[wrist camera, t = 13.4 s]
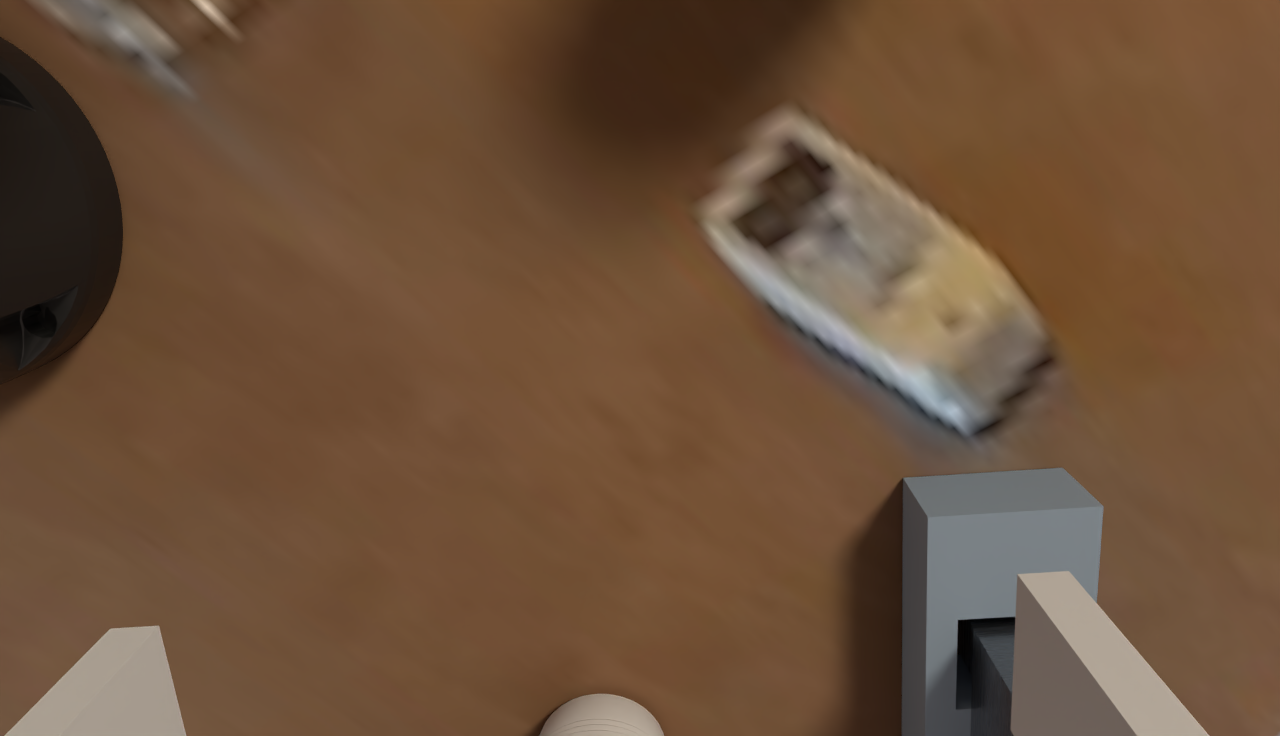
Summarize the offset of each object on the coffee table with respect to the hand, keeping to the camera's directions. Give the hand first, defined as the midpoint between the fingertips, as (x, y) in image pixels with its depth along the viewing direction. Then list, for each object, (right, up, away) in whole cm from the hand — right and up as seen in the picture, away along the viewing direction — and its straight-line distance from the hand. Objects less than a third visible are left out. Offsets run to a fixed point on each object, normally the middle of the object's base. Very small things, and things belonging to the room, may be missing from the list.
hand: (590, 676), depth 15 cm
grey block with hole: (+17, -10, +31) cm, 37 cm away
